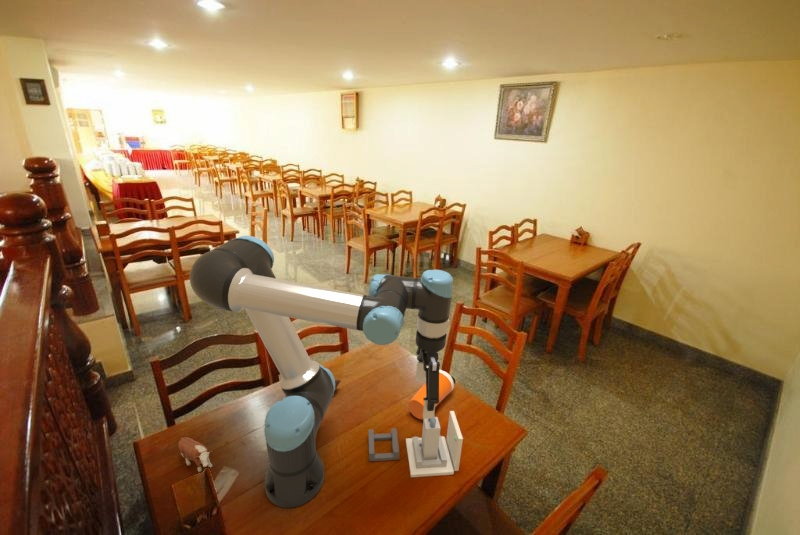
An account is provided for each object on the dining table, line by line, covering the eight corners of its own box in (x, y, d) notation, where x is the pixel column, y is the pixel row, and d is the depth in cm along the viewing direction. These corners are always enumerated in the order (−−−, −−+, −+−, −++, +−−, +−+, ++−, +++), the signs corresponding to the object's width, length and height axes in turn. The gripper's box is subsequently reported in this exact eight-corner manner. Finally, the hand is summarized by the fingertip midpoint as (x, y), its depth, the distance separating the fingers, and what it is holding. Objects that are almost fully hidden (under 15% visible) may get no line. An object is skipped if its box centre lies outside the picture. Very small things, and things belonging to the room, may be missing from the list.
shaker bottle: (432, 409, 109) (460, 376, 124) (409, 392, 113) (440, 361, 128) (424, 427, 114) (452, 392, 129) (402, 409, 117) (432, 377, 133)
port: (410, 477, 96) (413, 444, 91) (405, 441, 107) (407, 410, 103) (459, 474, 97) (463, 441, 93) (449, 438, 108) (453, 408, 104)
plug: (423, 460, 100) (426, 423, 95) (420, 448, 103) (424, 412, 98) (437, 460, 100) (441, 422, 95) (434, 448, 104) (438, 411, 99)
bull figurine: (206, 484, 92) (200, 462, 89) (178, 459, 98) (172, 437, 95) (221, 471, 95) (217, 449, 92) (193, 448, 102) (188, 427, 99)
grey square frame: (369, 461, 100) (369, 453, 99) (368, 436, 108) (368, 429, 107) (398, 459, 101) (399, 451, 100) (396, 435, 109) (396, 428, 108)
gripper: (459, 362, 76) (447, 435, 84) (436, 306, 99) (429, 368, 107) (425, 362, 75) (416, 436, 83) (410, 306, 98) (405, 368, 106)
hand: (423, 398), depth 95 cm, fingers open, 13 cm apart
